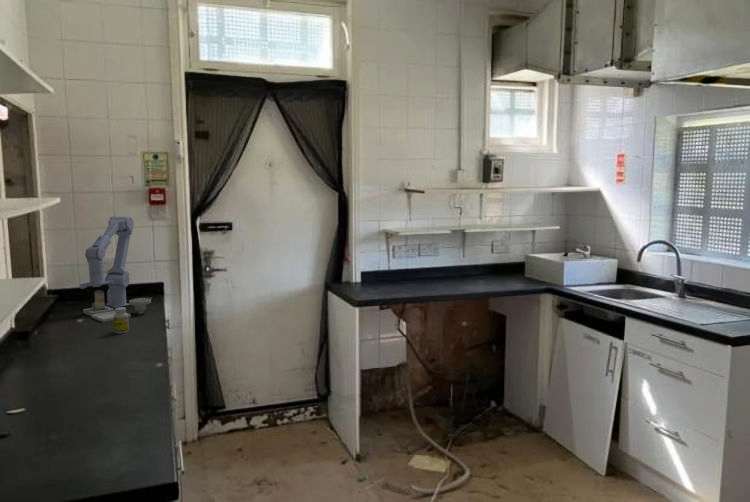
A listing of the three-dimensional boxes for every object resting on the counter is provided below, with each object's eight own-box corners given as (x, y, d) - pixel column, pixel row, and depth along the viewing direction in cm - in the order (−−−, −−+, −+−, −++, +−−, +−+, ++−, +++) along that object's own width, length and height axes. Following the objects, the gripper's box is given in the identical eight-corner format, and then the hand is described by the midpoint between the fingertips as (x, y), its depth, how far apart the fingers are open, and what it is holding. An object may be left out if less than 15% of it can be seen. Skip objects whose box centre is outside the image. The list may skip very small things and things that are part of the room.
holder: (83, 313, 262) (83, 309, 262) (105, 309, 269) (105, 305, 269) (92, 316, 255) (91, 312, 255) (114, 312, 263) (114, 309, 262)
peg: (92, 308, 262) (91, 291, 261) (101, 306, 265) (100, 289, 264) (95, 309, 259) (94, 292, 258) (104, 307, 262) (103, 291, 261)
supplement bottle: (111, 332, 229) (110, 309, 228) (122, 329, 234) (120, 306, 233) (121, 334, 227) (120, 310, 226) (132, 330, 232) (130, 307, 231)
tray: (92, 318, 253) (91, 314, 253) (118, 313, 262) (118, 310, 262) (103, 322, 245) (103, 319, 245) (130, 317, 254) (130, 314, 254)
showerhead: (152, 299, 259) (129, 301, 254) (153, 314, 260) (130, 316, 255) (151, 295, 267) (128, 297, 263) (152, 310, 268) (129, 312, 264)
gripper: (83, 275, 252) (85, 305, 254) (116, 271, 263) (117, 300, 264) (77, 274, 257) (79, 303, 258) (109, 270, 267) (111, 298, 269)
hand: (98, 301), depth 262 cm, fingers closed on peg, 4 cm apart
